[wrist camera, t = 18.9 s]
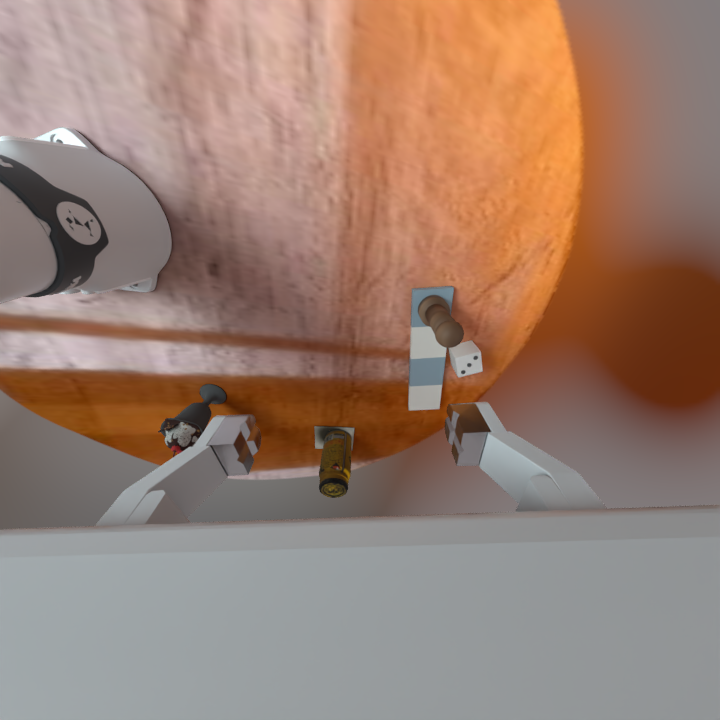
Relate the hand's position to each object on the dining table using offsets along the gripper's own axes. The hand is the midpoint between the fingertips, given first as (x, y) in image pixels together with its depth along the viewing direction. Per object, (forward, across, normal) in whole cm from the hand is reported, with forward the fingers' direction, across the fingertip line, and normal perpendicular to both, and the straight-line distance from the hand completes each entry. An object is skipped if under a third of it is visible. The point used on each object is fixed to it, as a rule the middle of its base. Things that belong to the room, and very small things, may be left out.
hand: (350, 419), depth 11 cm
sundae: (+31, -30, -22) cm, 49 cm away
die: (+31, +17, -16) cm, 39 cm away
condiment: (+31, -8, -36) cm, 48 cm away
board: (+31, +11, -16) cm, 37 cm away
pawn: (+30, +11, -7) cm, 33 cm away
